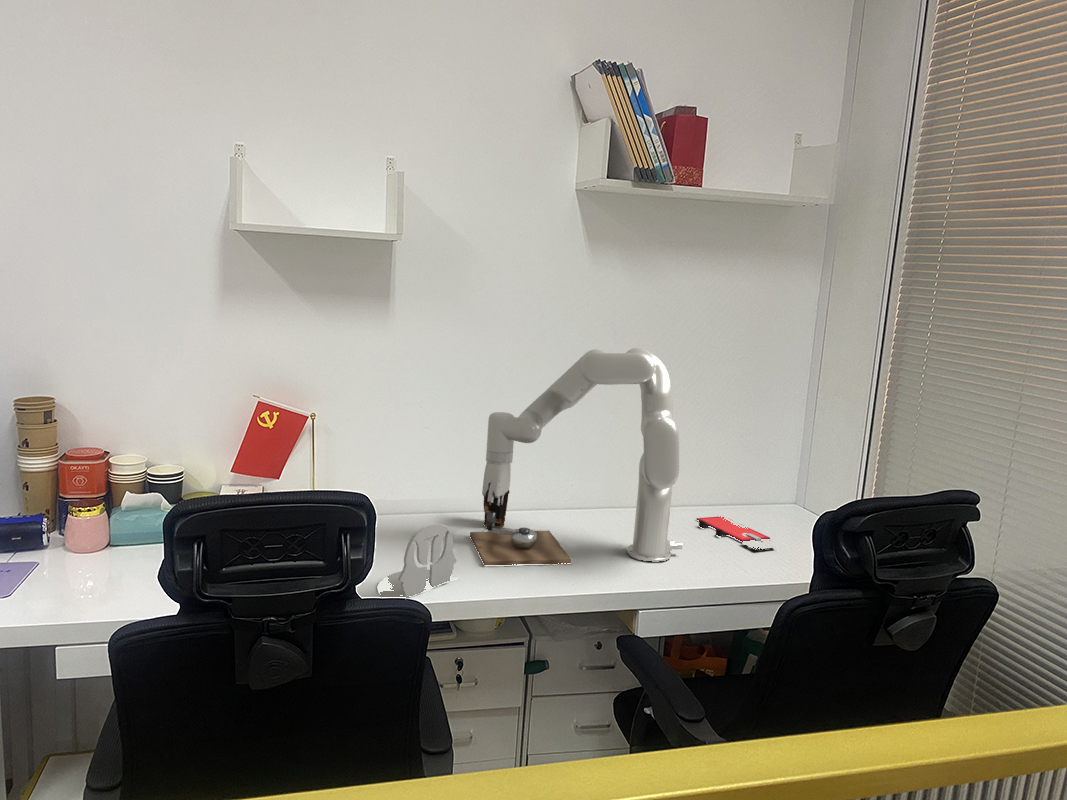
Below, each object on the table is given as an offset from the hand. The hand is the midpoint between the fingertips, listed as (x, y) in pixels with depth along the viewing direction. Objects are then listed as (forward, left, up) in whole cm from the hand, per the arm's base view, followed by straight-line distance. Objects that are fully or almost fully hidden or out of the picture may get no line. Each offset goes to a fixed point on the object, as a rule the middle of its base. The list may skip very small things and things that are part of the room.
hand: (495, 517), depth 229 cm
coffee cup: (-3, -14, -8) cm, 16 cm away
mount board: (-6, +7, -7) cm, 12 cm away
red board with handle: (-78, -2, -8) cm, 79 cm away
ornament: (+27, +27, -8) cm, 39 cm away
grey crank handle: (-3, +6, -5) cm, 8 cm away
